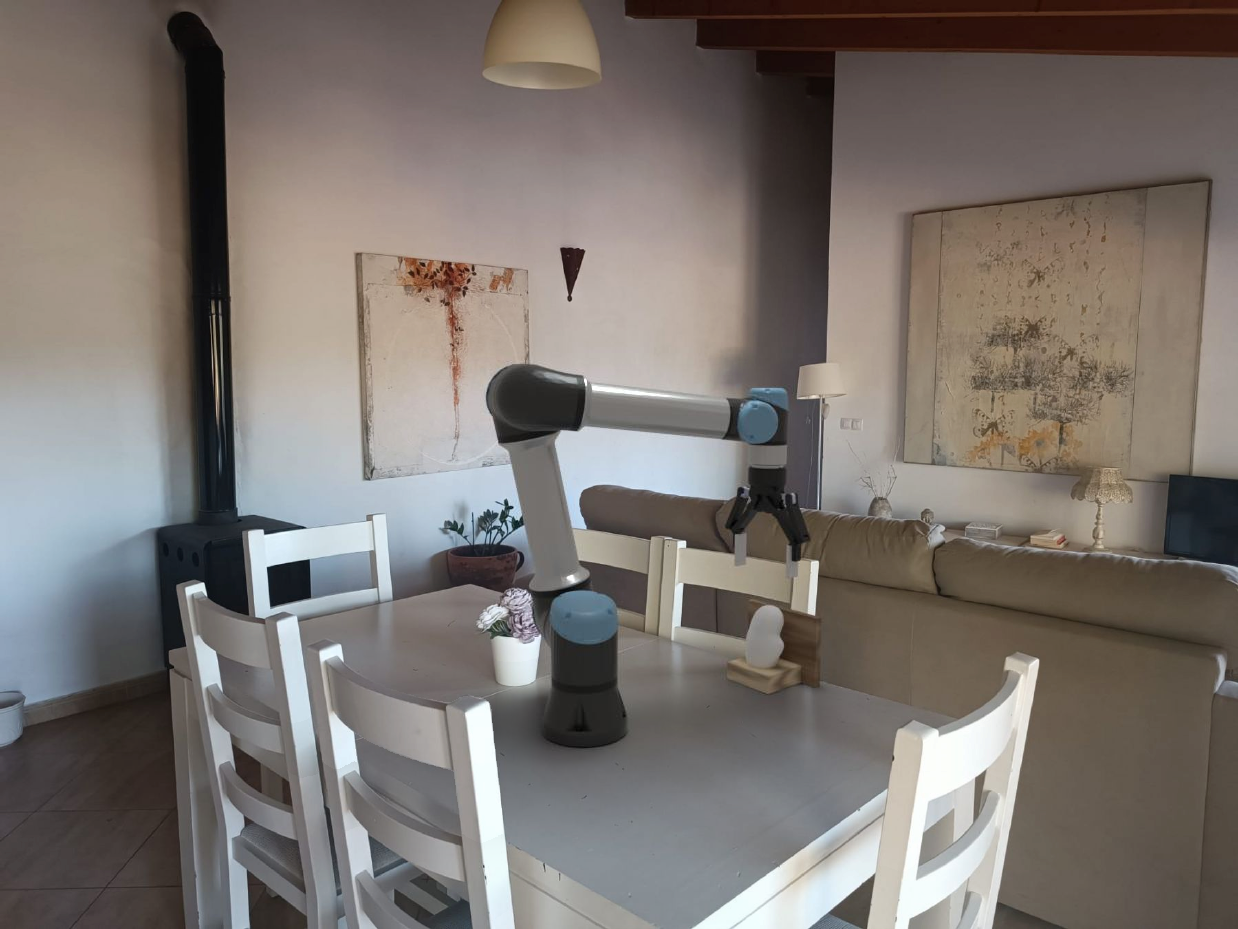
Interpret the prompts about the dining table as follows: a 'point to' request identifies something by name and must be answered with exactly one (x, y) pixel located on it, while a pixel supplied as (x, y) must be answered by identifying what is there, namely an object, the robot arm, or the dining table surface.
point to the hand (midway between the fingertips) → (765, 571)
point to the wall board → (784, 654)
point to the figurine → (764, 638)
